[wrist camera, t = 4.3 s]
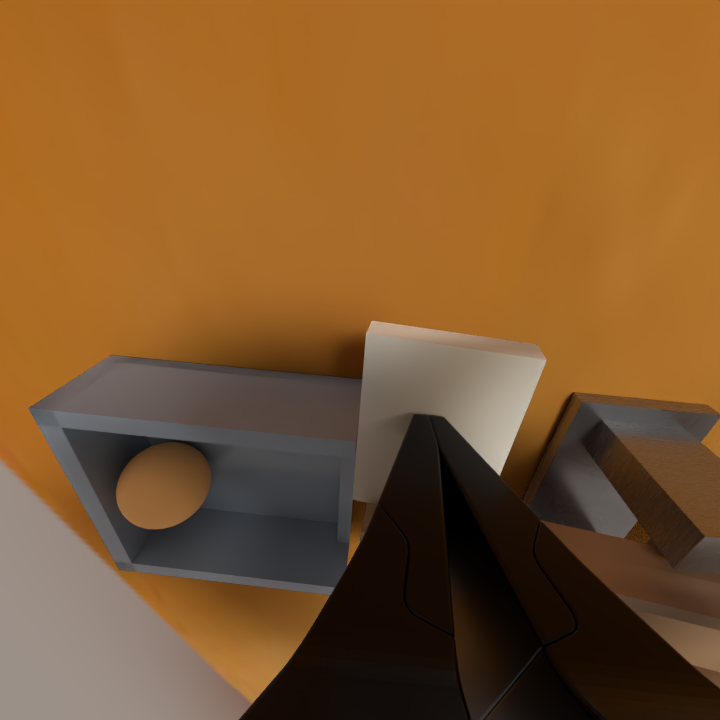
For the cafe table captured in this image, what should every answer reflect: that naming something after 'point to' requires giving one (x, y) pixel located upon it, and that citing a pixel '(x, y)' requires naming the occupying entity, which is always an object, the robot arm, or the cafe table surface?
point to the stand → (635, 475)
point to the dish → (217, 466)
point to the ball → (163, 485)
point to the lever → (493, 442)
